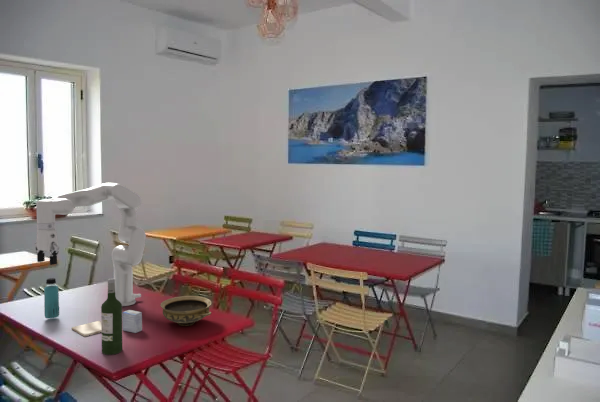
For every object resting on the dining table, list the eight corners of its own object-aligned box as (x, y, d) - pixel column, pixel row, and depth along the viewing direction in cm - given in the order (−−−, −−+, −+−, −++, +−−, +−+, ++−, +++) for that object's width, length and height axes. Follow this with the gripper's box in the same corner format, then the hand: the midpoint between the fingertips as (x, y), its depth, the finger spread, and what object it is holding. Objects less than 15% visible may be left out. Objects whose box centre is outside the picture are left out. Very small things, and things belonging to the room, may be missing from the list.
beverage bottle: (53, 322, 230) (52, 280, 228) (41, 320, 231) (40, 279, 229) (62, 317, 236) (61, 277, 234) (50, 316, 237) (49, 276, 236)
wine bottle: (97, 353, 194) (96, 280, 192) (111, 346, 202) (110, 275, 199) (112, 356, 192) (112, 282, 189) (126, 349, 199) (126, 277, 196)
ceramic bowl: (144, 324, 229) (144, 303, 229) (181, 311, 250) (181, 292, 249) (191, 337, 214) (191, 315, 213) (226, 322, 235) (226, 302, 234)
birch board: (99, 322, 230) (99, 320, 230) (112, 329, 222) (112, 327, 221) (71, 329, 220) (71, 327, 220) (84, 336, 212) (84, 334, 212)
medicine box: (142, 330, 221) (142, 312, 220) (135, 333, 217) (135, 314, 216) (129, 327, 224) (129, 309, 224) (122, 330, 220) (122, 312, 220)
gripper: (65, 227, 221) (66, 263, 223) (43, 224, 230) (44, 259, 232) (49, 229, 215) (50, 266, 216) (27, 225, 224) (28, 262, 225)
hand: (47, 262), depth 224 cm, fingers open, 9 cm apart
